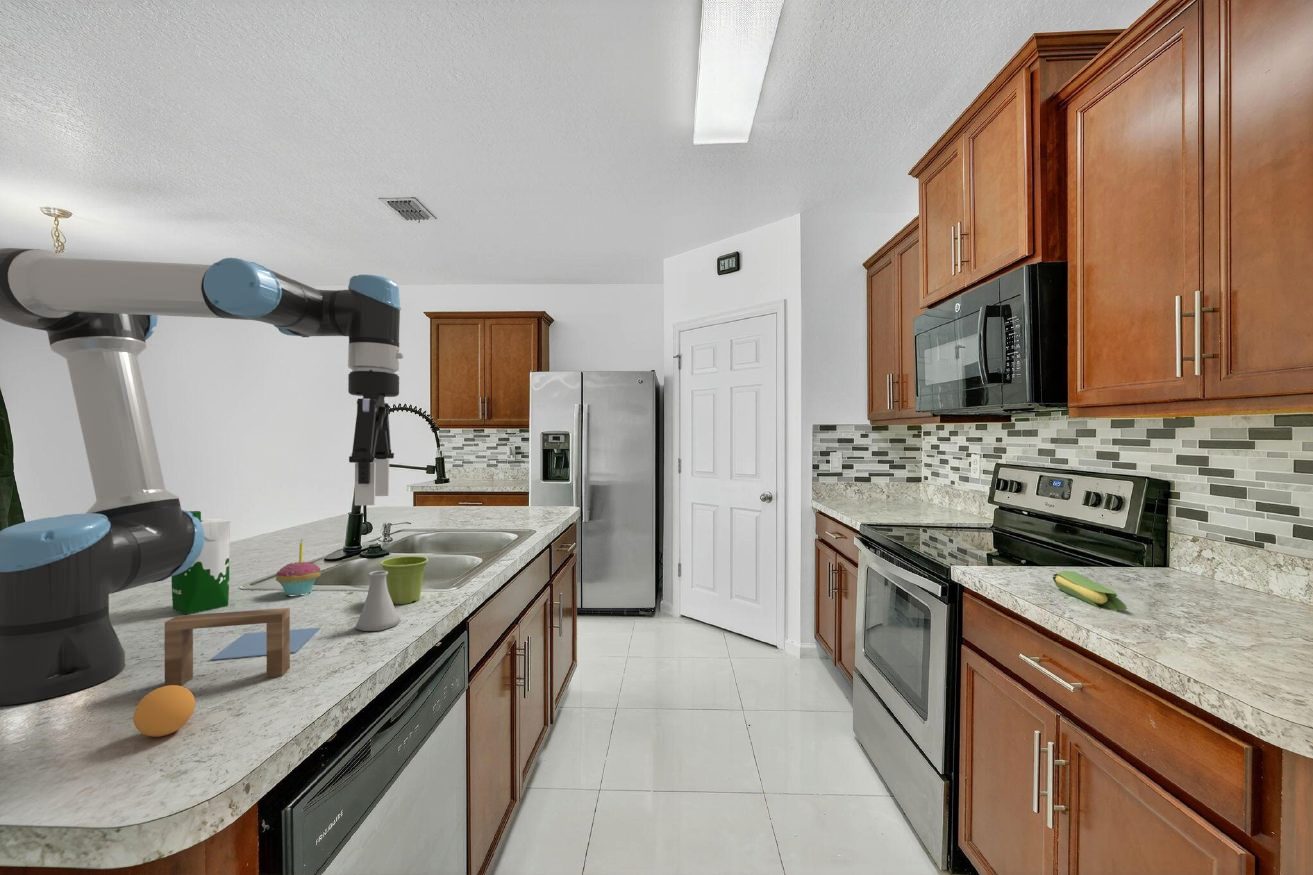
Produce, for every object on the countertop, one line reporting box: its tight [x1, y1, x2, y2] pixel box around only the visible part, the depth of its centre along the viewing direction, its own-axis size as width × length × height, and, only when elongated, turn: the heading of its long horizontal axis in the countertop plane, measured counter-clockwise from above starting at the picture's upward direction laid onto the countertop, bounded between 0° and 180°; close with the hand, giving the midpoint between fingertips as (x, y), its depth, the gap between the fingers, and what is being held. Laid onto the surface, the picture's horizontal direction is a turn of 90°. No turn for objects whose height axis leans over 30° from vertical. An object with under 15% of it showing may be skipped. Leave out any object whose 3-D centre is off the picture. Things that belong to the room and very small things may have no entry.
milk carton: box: [171, 510, 231, 615], centre depth 116 cm, size 9×9×20 cm
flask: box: [354, 570, 401, 632], centre depth 104 cm, size 7×7×10 cm
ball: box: [132, 685, 196, 738], centre depth 66 cm, size 6×6×6 cm
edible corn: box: [1052, 570, 1128, 613], centre depth 120 cm, size 5×20×5 cm
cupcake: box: [275, 538, 321, 596], centre depth 125 cm, size 9×8×12 cm
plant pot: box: [380, 555, 429, 605], centre depth 120 cm, size 9×9×9 cm
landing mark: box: [209, 627, 321, 662], centre depth 95 cm, size 12×12×1 cm
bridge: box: [164, 607, 291, 687], centre depth 82 cm, size 3×14×9 cm, turn 105°
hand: (373, 500), depth 92 cm, fingers open, 13 cm apart
